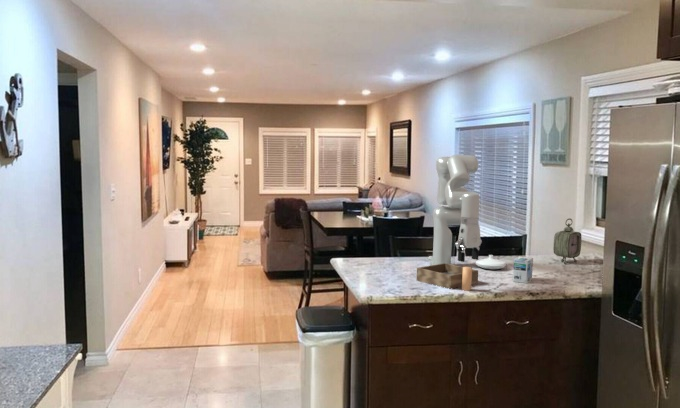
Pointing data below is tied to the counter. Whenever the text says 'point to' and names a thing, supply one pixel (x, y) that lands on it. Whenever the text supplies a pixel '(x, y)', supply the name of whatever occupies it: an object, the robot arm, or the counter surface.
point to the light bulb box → (523, 269)
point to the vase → (490, 263)
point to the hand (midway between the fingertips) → (468, 260)
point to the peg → (466, 278)
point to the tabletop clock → (567, 243)
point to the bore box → (444, 275)
